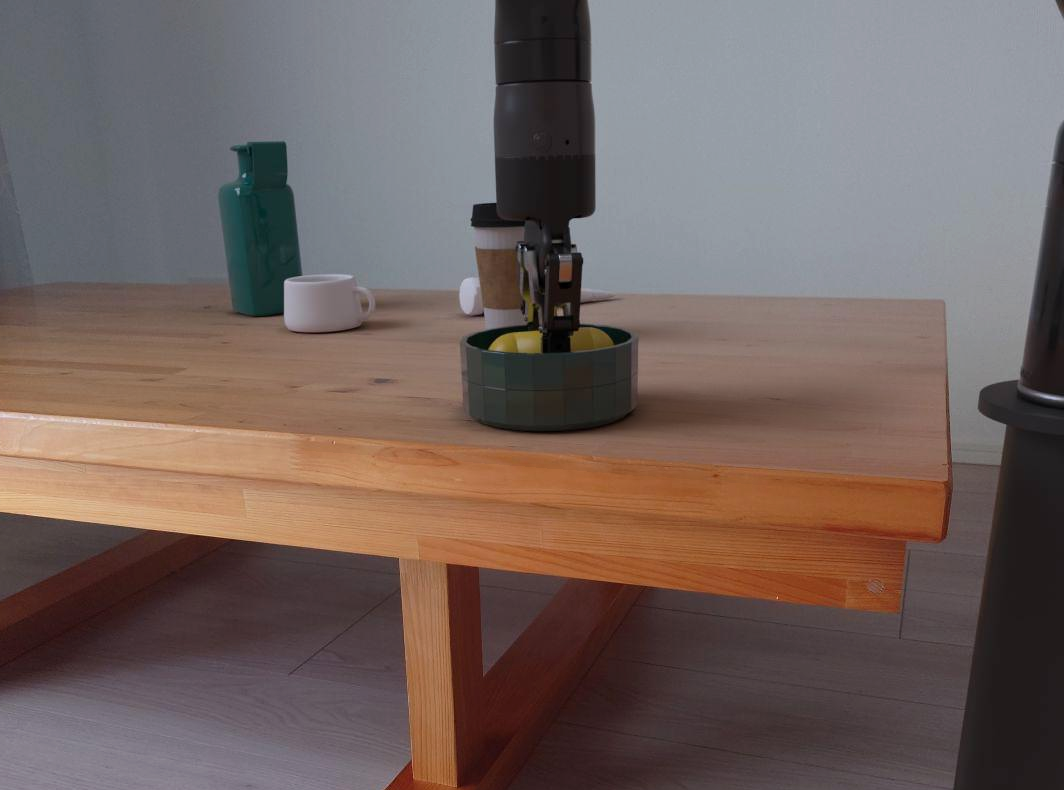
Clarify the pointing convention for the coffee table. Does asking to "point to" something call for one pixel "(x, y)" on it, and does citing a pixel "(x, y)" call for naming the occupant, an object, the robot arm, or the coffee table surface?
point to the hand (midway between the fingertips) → (549, 377)
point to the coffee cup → (498, 265)
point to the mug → (324, 303)
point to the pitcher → (260, 229)
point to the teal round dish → (549, 382)
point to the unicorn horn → (474, 305)
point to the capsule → (532, 341)
